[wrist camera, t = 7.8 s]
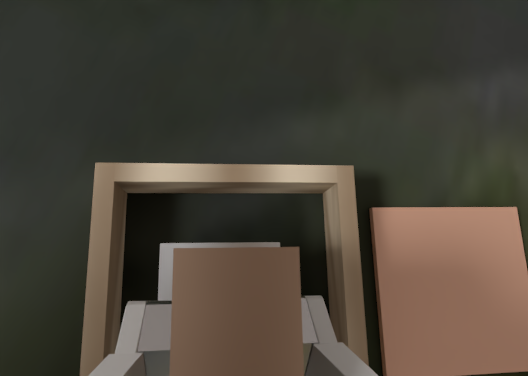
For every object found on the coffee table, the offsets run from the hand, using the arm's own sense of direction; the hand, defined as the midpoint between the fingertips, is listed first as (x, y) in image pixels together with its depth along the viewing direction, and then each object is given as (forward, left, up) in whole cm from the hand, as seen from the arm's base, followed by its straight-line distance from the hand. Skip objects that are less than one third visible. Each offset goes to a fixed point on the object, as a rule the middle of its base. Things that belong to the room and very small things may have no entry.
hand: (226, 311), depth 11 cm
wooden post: (0, 0, -5) cm, 5 cm away
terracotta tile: (+14, 0, -11) cm, 18 cm away
